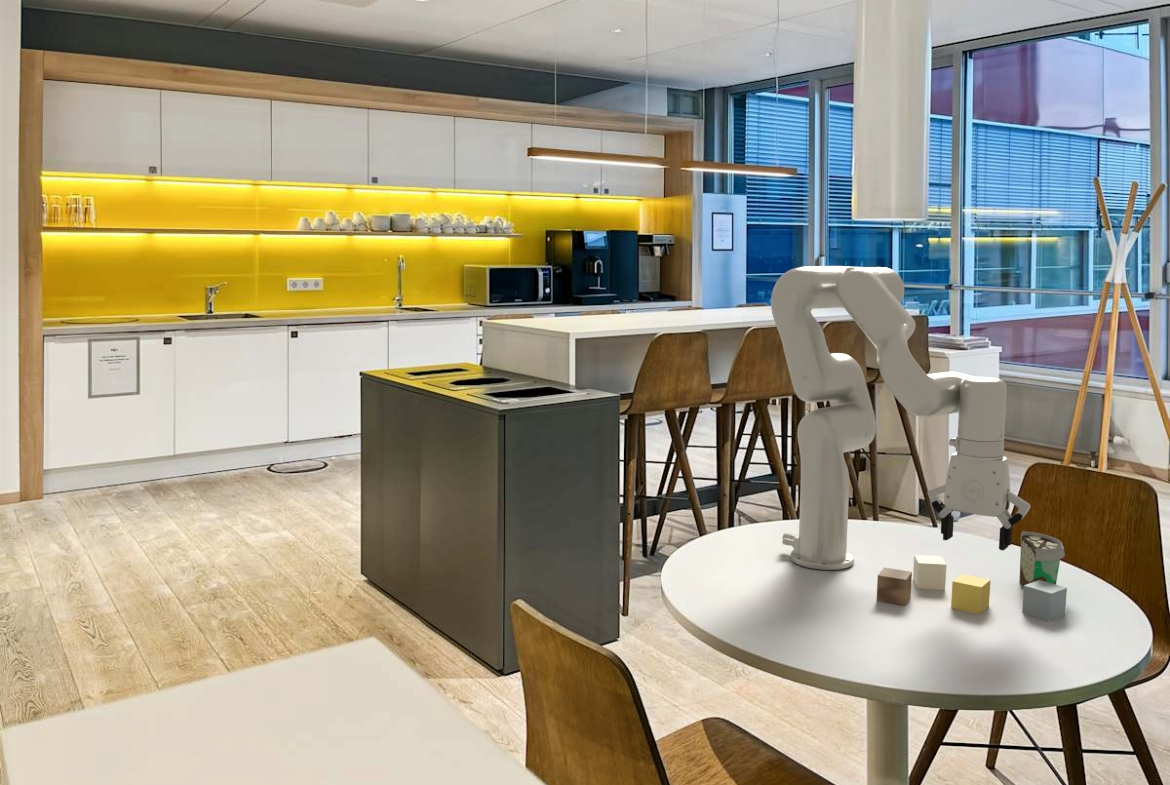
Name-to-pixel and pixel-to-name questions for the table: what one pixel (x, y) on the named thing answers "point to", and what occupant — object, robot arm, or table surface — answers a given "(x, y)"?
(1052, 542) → the food container
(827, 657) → the table surface
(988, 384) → the robot arm
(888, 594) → the walnut cube
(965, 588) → the mustard cube
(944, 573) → the cream cube
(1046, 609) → the slate cube
